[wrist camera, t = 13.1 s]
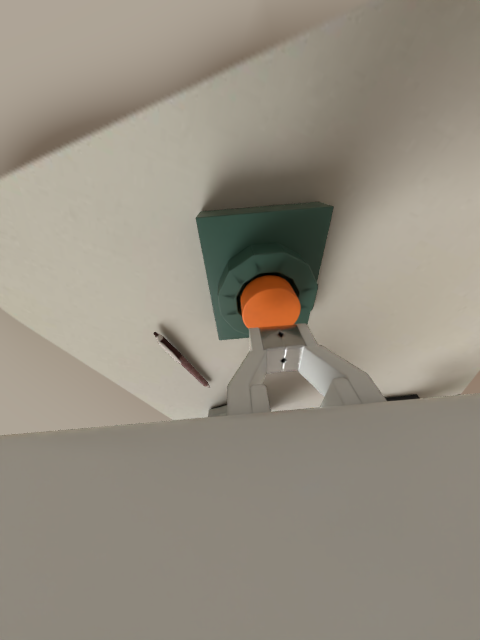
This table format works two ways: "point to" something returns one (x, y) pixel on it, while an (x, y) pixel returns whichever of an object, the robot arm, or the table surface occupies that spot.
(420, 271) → the table surface
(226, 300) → the control block
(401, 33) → the table surface
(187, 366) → the pen
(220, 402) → the table surface
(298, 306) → the button
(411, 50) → the table surface
